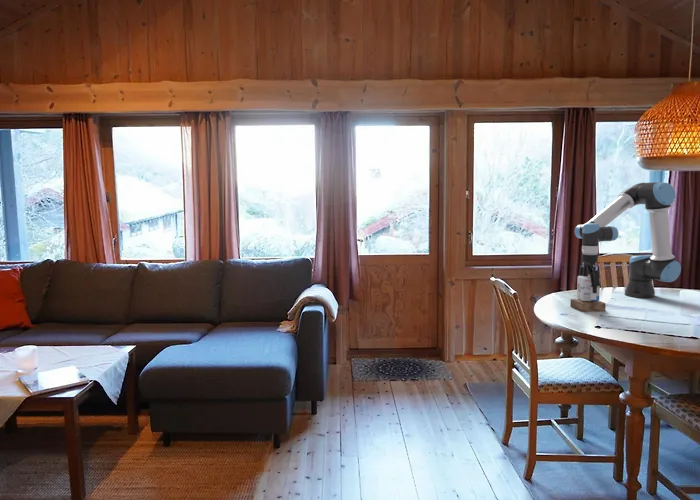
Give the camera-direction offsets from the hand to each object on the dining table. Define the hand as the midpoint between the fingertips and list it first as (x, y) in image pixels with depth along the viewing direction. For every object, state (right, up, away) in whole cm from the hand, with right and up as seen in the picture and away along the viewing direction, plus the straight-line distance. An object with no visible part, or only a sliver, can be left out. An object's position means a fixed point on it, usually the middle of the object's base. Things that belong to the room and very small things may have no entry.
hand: (588, 297), depth 265 cm
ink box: (0, -1, 0) cm, 1 cm away
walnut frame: (0, -6, +1) cm, 6 cm away
